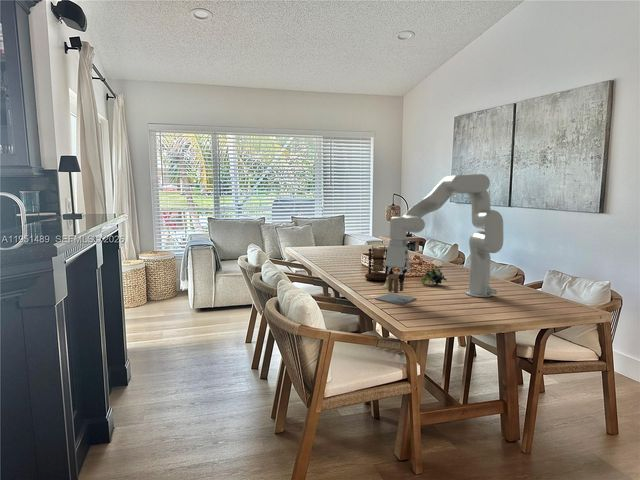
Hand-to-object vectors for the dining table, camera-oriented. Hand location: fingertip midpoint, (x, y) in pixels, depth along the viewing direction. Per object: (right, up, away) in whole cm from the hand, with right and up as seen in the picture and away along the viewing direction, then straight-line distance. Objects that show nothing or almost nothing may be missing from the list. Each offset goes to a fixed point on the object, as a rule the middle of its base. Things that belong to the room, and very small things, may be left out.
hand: (396, 281), depth 196 cm
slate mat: (0, -9, +1) cm, 9 cm away
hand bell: (+2, -6, +25) cm, 26 cm away
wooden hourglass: (-2, -4, +45) cm, 45 cm away
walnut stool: (0, -5, +1) cm, 5 cm away
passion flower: (+26, -6, +31) cm, 41 cm away
